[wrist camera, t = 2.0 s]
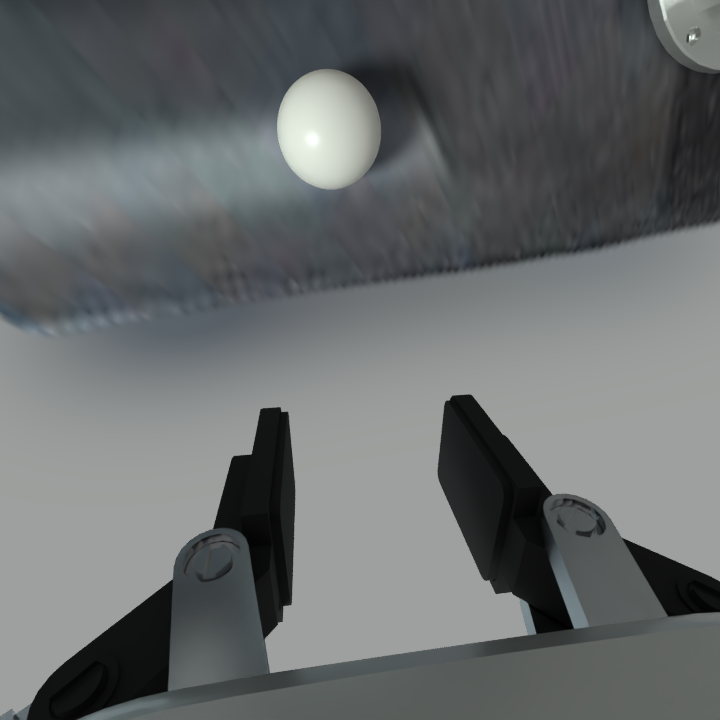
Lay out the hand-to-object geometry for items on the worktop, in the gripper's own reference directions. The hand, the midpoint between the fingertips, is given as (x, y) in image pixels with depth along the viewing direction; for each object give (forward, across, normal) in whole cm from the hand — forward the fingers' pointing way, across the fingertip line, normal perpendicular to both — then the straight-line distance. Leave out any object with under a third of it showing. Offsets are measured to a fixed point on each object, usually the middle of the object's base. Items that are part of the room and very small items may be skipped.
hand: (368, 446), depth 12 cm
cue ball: (+15, 0, -10) cm, 17 cm away
